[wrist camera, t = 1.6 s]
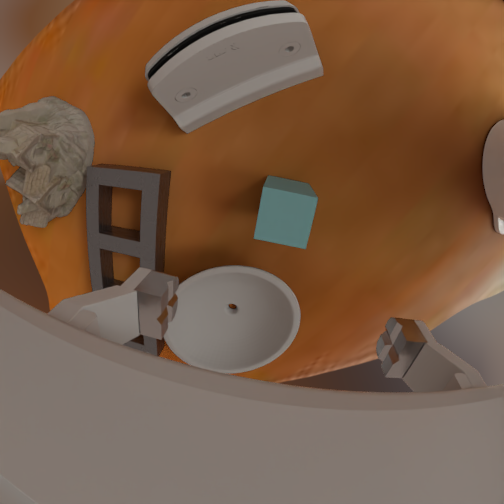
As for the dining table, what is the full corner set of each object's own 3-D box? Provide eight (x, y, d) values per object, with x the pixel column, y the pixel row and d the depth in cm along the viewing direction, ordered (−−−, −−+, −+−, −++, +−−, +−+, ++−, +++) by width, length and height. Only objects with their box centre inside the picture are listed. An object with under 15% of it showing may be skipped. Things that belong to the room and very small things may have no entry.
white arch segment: (184, 135, 28) (130, 100, 18) (174, 103, 28) (123, 65, 18) (326, 74, 24) (324, 12, 14) (307, 45, 24) (297, -16, 14)
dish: (251, 220, 31) (245, 235, 26) (322, 309, 34) (326, 333, 30) (152, 297, 36) (136, 317, 32) (220, 363, 40) (213, 387, 35)
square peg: (308, 183, 29) (318, 198, 21) (300, 222, 30) (305, 249, 23) (268, 175, 29) (263, 186, 21) (260, 214, 30) (253, 238, 23)
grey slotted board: (170, 170, 30) (160, 174, 27) (164, 346, 40) (157, 358, 37) (101, 163, 30) (86, 166, 27) (109, 328, 40) (100, 339, 37)
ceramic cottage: (48, 83, 25) (-33, 90, 12) (115, 135, 29) (24, 158, 16) (18, 168, 32) (-49, 197, 19) (74, 225, 35) (5, 275, 22)
